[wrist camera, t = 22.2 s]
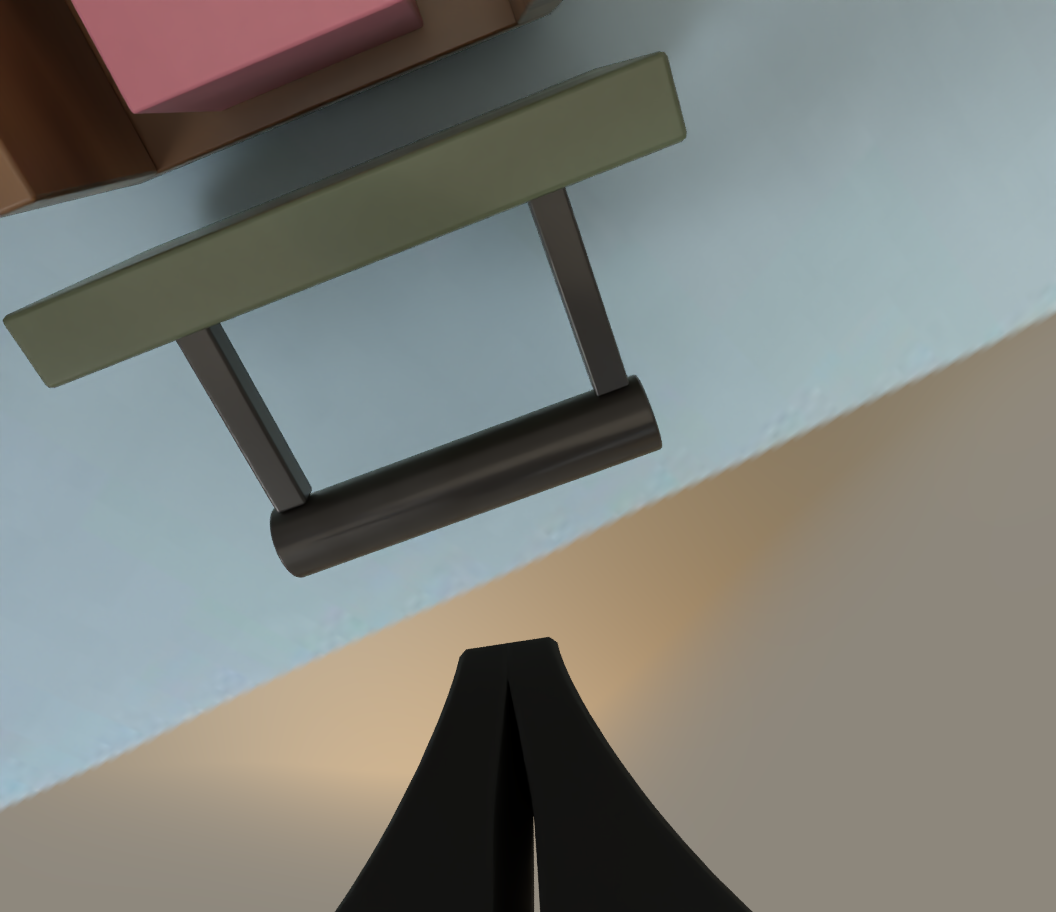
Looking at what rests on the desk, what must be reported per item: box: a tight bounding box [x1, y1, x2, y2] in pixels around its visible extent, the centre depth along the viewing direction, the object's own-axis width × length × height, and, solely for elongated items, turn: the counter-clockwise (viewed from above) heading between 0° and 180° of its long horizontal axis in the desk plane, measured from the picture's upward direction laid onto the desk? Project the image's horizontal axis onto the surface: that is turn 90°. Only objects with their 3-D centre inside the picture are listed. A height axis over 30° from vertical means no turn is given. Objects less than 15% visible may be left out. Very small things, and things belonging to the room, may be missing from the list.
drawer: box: [0, 0, 687, 577], centre depth 12 cm, size 17×10×6 cm, turn 20°
